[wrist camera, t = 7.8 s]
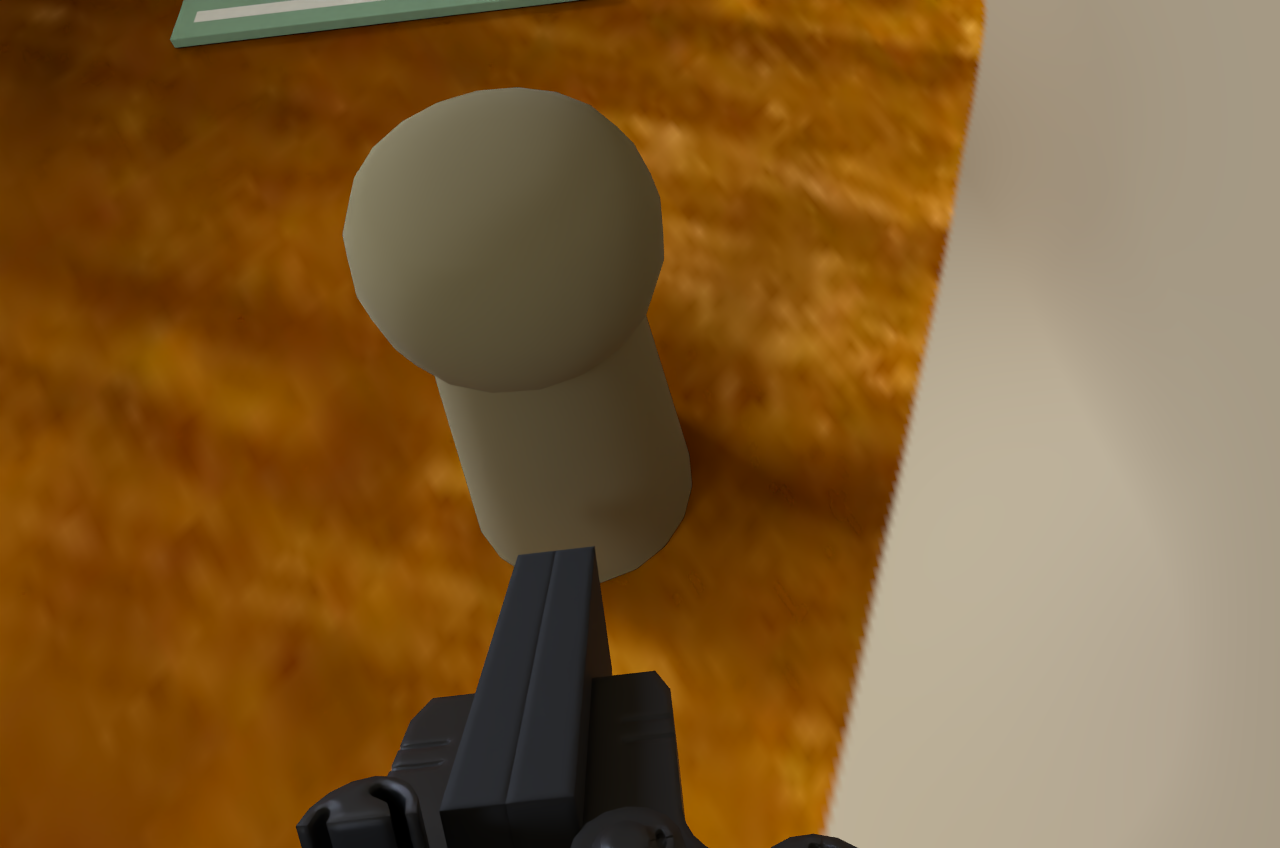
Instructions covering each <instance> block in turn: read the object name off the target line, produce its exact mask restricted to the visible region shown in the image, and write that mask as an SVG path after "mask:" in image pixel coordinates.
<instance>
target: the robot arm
mask: <svg viewBox="0 0 1280 848" xmlns="http://www.w3.org/2000/svg"><path fill="white" fill-rule="evenodd" d="M400 747H401V749H400V750H399V751H398V753H397V755H396V757H395V760H394V762H393V764H392V771H390V772H389V774H388V776H387V777H386V776H374V777H370V778H365V779H361V780H357V781H353V782H351V783H349V784H346V785H344V786H342V787H340V788H338V789H336V790H334V791H332V792H330V793H329V794H327V795H326V796H325V797H323V798H322V799H321V800H320V801H318V802H317V803H316V804H314V805H313V806H312V807H311V808H309V810H308V811H307V812H306V814H305V815H304V816H303V818H302V819H301V820H300V822H299V823H298V824H297V826H296V829H297V832H298V836H299V839H300V843H301V846H302V848H708V847H706V846H705V845H704V844H703V843H702V842H700V841H699V840H698V839H697V838H696V837H695V836H694V835H693V834H692V832H691V830H690V829H689V827H688V826H687V824H686V821H685V815H684V805H683V796H682V786H681V777H680V767H679V759H678V751H677V742H676V734H675V725H674V717H673V708H672V700H671V691H670V688H669V687H668V686H667V685H666V684H665V682H664V681H663V680H662V679H661V677H660V676H659V675H658V674H657V673H656V671H649V672H641V673H632V674H623V675H614V676H612V666H611V659H610V652H609V645H608V638H607V631H606V623H605V616H604V609H603V602H602V595H601V588H600V581H599V574H598V566H597V559H596V552H595V546H592V547H583V548H575V549H566V550H557V551H548V552H540V553H531V554H522V555H518V557H517V560H516V563H515V566H514V570H513V573H512V576H511V579H510V583H509V586H508V589H507V592H506V596H505V599H504V602H503V605H502V609H501V612H500V615H499V618H498V622H497V625H496V628H495V631H494V635H493V638H492V641H491V644H490V648H489V651H488V654H487V657H486V661H485V664H484V667H483V670H482V674H481V677H480V680H479V683H478V686H477V690H476V693H475V694H466V695H457V696H449V697H440V698H433V699H432V700H431V701H430V702H429V703H428V704H427V705H426V706H425V707H424V708H423V709H422V710H421V711H420V712H419V713H418V714H417V715H416V716H415V717H414V718H413V719H412V720H411V722H410V724H409V726H408V729H407V731H406V733H405V736H404V738H403V741H402V743H401V745H400ZM771 848H857V847H855V846H853V845H851V844H849V843H847V842H845V841H843V840H841V839H839V838H835V837H829V836H823V835H817V834H809V835H802V836H795V837H790V838H788V839H786V840H784V841H782V842H780V843H778V844H777V845H775V846H773V847H771Z"/></svg>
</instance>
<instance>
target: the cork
mask: <svg viewBox="0 0 1280 848" xmlns="http://www.w3.org/2000/svg"><path fill="white" fill-rule="evenodd" d="M343 240H344V244H345V249H346V253H347V258H348V262H349V266H350V270H351V275H352V279H353V283H354V287H355V291H356V295H357V298H358V299H359V301H360V302H361V304H362V305H363V307H364V308H365V310H366V312H367V313H368V315H369V316H370V318H371V319H372V321H373V322H374V323H375V324H376V326H377V327H378V328H379V329H380V331H381V332H382V333H383V334H384V336H385V337H386V338H387V339H388V341H389V342H390V343H391V344H392V346H393V347H394V348H395V350H397V351H398V352H399V353H401V354H402V355H403V356H405V357H406V358H407V359H408V360H410V361H411V362H412V363H414V364H415V365H417V366H418V367H420V368H422V369H424V370H425V371H427V372H429V373H430V374H432V375H434V376H435V379H436V382H437V386H438V389H439V392H440V396H441V399H442V402H443V405H444V409H445V412H446V415H447V419H448V422H449V425H450V429H451V432H452V435H453V439H454V442H455V445H456V449H457V452H458V455H459V459H460V462H461V465H462V469H463V472H464V475H465V479H466V482H467V485H468V489H469V492H470V495H471V499H472V502H473V505H474V509H475V512H476V515H477V519H478V522H479V525H480V529H481V532H482V533H483V534H484V536H485V537H486V538H487V540H488V541H489V542H490V544H491V545H492V546H493V548H494V549H495V550H496V552H497V553H498V554H499V556H500V557H501V558H502V559H504V560H505V561H507V562H508V563H510V564H511V565H513V566H515V563H516V560H517V557H518V555H522V554H531V553H540V552H548V551H557V550H566V549H575V548H583V547H592V546H595V552H596V559H597V566H598V574H599V581H600V583H601V582H604V581H607V580H609V579H612V578H614V577H617V576H620V575H622V574H625V573H627V572H630V571H632V570H635V569H637V568H638V567H639V566H641V565H642V564H643V563H644V562H646V561H647V560H648V559H649V558H651V557H652V556H653V555H654V554H656V553H657V552H658V551H659V550H661V549H662V548H663V547H664V546H665V545H666V544H667V542H668V541H669V539H670V538H671V536H672V534H673V533H674V531H675V530H676V528H677V527H678V525H679V524H680V522H681V521H682V519H683V518H684V515H685V511H686V507H687V503H688V499H689V496H690V492H691V488H692V479H691V468H690V457H689V452H688V449H687V446H686V442H685V439H684V436H683V433H682V430H681V426H680V423H679V420H678V417H677V413H676V410H675V407H674V404H673V401H672V397H671V394H670V391H669V388H668V384H667V381H666V378H665V375H664V372H663V368H662V365H661V362H660V359H659V355H658V352H657V349H656V346H655V343H654V339H653V336H652V333H651V330H650V327H649V323H648V320H647V317H646V313H647V310H648V307H649V304H650V301H651V298H652V295H653V292H654V289H655V286H656V283H657V280H658V277H659V273H660V270H661V267H662V264H663V261H664V244H663V226H662V215H661V203H660V196H659V194H658V191H657V189H656V186H655V184H654V181H653V179H652V176H651V174H650V172H649V170H648V168H647V166H646V165H645V163H644V161H643V159H642V158H641V156H640V154H639V152H638V150H637V149H636V147H635V145H634V143H633V142H632V141H631V140H630V139H629V138H628V137H627V136H626V135H625V134H624V133H623V132H622V131H621V130H620V129H619V128H618V127H617V126H615V125H614V124H613V123H612V122H610V121H609V120H608V119H607V118H605V117H604V116H603V115H602V114H601V113H599V112H598V111H597V110H596V109H594V108H593V107H592V106H591V105H588V104H586V103H583V102H581V101H578V100H575V99H573V98H570V97H568V96H565V95H563V94H560V93H558V92H552V91H544V90H536V89H527V88H519V87H515V88H504V89H493V90H482V91H475V92H472V93H468V94H465V95H462V96H458V97H455V98H451V99H448V100H445V101H441V102H438V103H436V104H434V105H432V106H430V107H428V108H427V109H425V110H423V111H421V112H419V113H417V114H415V115H414V116H412V117H410V118H408V119H406V120H404V121H402V122H401V123H400V124H399V125H398V126H396V127H395V128H394V129H393V130H392V131H391V132H390V133H389V134H387V135H386V136H385V137H384V138H383V139H382V140H381V141H380V142H378V143H377V144H376V145H375V146H374V147H373V148H372V150H371V151H370V153H369V155H368V156H367V158H366V159H365V161H364V163H363V164H362V166H361V168H360V169H359V171H358V172H357V174H356V176H355V177H354V181H353V186H352V190H351V195H350V199H349V204H348V209H347V214H346V219H345V225H344V230H343Z"/></svg>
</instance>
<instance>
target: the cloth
mask: <svg viewBox="0 0 1280 848" xmlns="http://www.w3.org/2000/svg"><path fill="white" fill-rule="evenodd" d="M569 1H578V0H184V1H183V4H182V7H181V10H180V13H179V15H178V18H177V21H176V24H175V27H174V30H173V33H172V35H171V38H170V40H171V42H172V44H173V45H174V47H175V48H178V47H187V46H195V45H204V44H212V43H221V42H229V41H238V40H246V39H255V38H263V37H272V36H280V35H289V34H297V33H306V32H314V31H323V30H331V29H340V28H348V27H357V26H365V25H374V24H382V23H391V22H399V21H408V20H416V19H425V18H433V17H442V16H450V15H459V14H467V13H476V12H484V11H493V10H501V9H510V8H518V7H527V6H535V5H544V4H552V3H561V2H569Z"/></svg>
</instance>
